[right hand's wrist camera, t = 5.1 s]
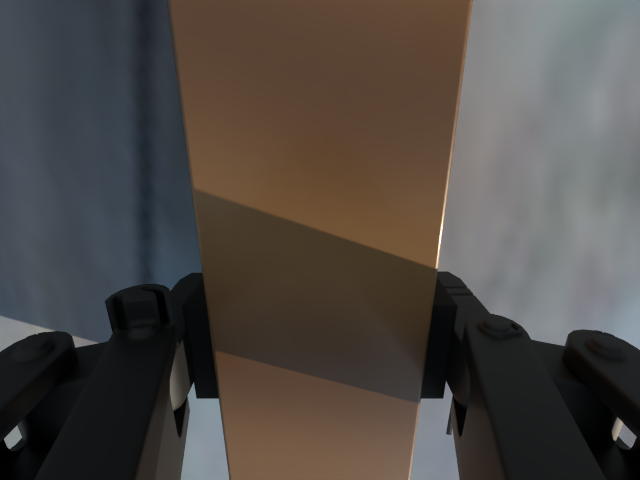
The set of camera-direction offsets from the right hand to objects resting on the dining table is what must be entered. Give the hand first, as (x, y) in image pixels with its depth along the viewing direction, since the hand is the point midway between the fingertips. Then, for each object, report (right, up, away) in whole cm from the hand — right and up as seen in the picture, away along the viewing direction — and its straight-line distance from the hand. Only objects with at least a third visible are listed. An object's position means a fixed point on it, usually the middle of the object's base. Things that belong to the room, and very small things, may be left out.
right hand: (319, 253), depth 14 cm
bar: (0, +25, -8) cm, 26 cm away
